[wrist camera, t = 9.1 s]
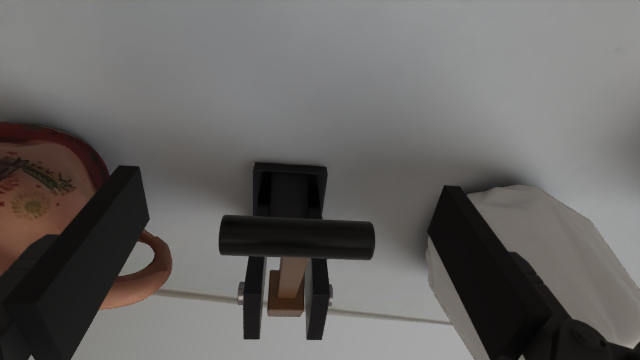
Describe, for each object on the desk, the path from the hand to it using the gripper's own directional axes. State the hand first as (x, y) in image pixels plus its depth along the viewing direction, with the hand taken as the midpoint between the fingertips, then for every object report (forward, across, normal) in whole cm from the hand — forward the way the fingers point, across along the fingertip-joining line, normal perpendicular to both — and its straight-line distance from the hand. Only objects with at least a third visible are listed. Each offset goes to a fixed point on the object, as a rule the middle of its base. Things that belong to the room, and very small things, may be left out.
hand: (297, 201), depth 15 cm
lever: (+1, 0, -4) cm, 4 cm away
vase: (+13, +20, -11) cm, 26 cm away
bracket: (+12, 0, -9) cm, 16 cm away
